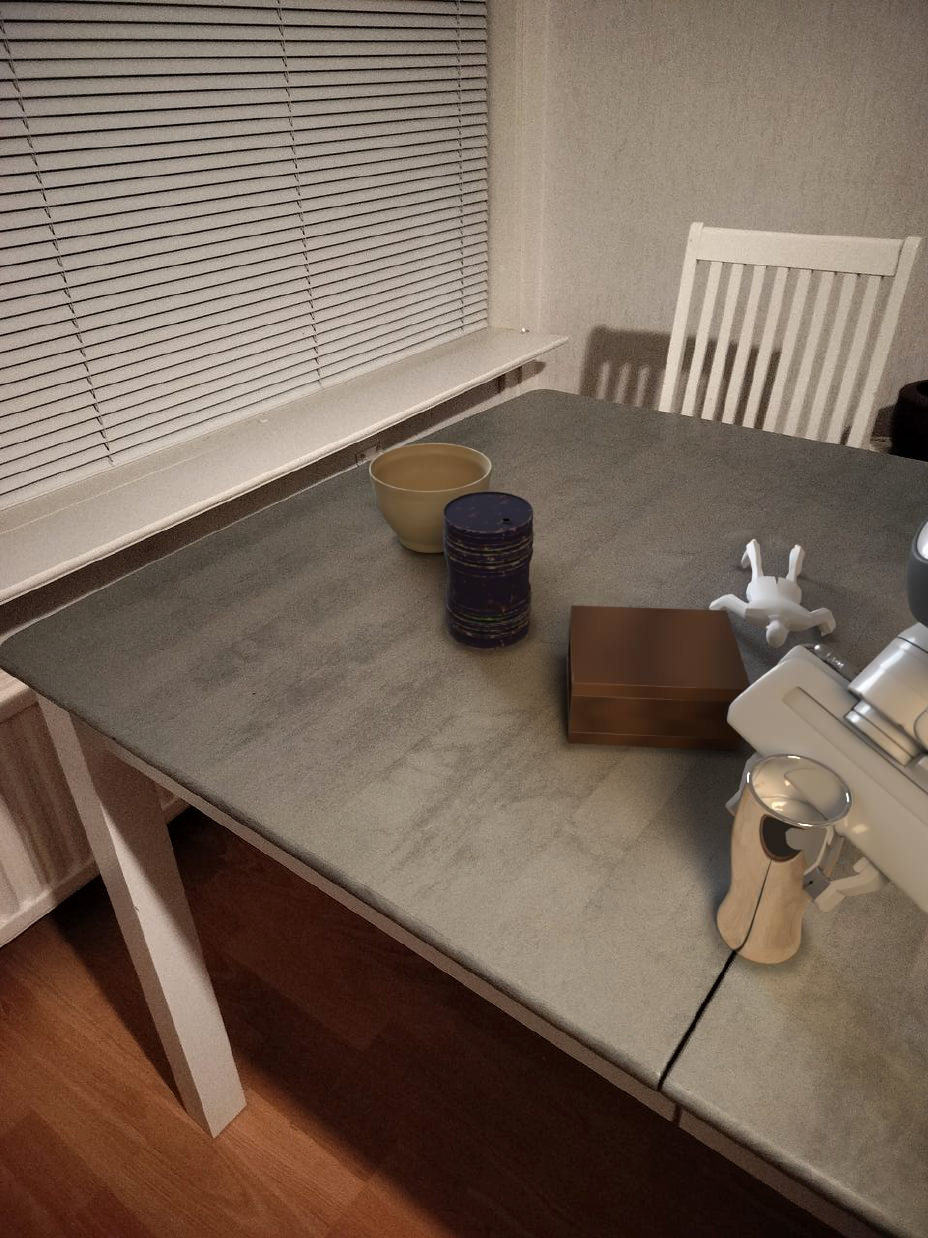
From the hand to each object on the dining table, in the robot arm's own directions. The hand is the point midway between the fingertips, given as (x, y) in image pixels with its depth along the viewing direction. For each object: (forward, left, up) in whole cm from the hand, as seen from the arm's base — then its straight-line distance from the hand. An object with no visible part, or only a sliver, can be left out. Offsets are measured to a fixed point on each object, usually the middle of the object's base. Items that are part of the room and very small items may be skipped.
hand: (772, 857), depth 57 cm
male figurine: (-10, -42, -9) cm, 44 cm away
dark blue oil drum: (+22, -39, -9) cm, 46 cm away
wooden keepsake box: (+5, -26, -8) cm, 28 cm away
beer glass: (-1, 0, -9) cm, 9 cm away
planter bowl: (+31, -60, -9) cm, 69 cm away
